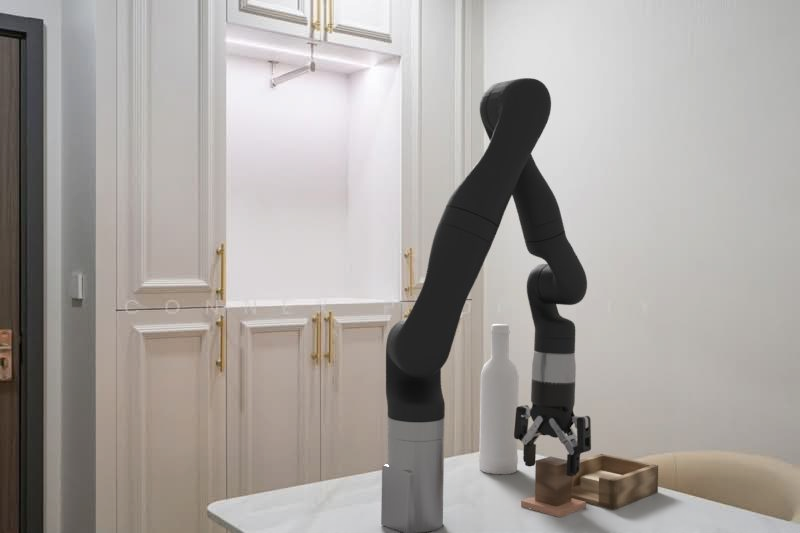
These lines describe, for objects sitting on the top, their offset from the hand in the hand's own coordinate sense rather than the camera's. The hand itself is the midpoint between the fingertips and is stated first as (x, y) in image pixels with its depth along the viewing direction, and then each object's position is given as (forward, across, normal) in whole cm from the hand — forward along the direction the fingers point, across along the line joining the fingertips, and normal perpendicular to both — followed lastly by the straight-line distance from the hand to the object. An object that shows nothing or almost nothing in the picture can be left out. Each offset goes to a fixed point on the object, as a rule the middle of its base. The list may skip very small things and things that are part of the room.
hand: (550, 470), depth 134 cm
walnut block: (+5, -1, 0) cm, 5 cm away
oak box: (+6, -3, -15) cm, 16 cm away
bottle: (+6, +21, -13) cm, 26 cm away
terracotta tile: (+6, -1, 0) cm, 6 cm away
